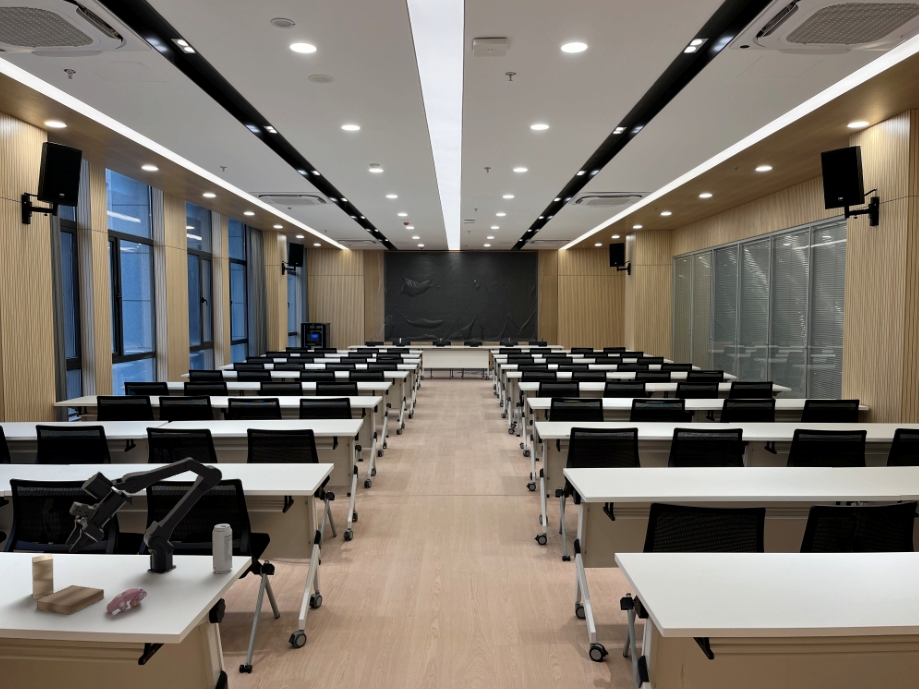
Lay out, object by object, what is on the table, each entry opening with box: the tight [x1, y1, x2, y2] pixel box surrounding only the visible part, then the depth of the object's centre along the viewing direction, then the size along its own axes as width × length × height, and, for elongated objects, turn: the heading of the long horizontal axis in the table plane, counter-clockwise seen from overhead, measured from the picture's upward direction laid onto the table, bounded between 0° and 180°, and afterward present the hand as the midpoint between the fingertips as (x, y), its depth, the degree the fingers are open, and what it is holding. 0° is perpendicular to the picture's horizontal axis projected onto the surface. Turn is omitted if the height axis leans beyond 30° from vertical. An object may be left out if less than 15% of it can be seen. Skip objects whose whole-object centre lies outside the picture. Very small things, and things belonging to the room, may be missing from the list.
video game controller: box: [106, 586, 148, 614], centre depth 190 cm, size 10×5×7 cm, turn 148°
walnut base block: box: [36, 584, 105, 615], centre depth 194 cm, size 12×12×2 cm
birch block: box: [31, 553, 55, 600], centre depth 201 cm, size 5×5×11 cm
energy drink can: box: [212, 523, 233, 574], centre depth 220 cm, size 6×6×15 cm
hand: (68, 548), depth 205 cm, fingers open, 9 cm apart
